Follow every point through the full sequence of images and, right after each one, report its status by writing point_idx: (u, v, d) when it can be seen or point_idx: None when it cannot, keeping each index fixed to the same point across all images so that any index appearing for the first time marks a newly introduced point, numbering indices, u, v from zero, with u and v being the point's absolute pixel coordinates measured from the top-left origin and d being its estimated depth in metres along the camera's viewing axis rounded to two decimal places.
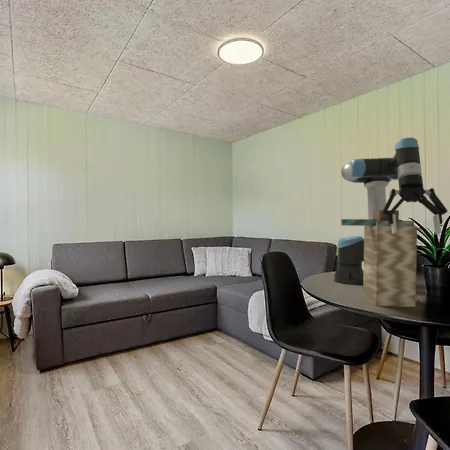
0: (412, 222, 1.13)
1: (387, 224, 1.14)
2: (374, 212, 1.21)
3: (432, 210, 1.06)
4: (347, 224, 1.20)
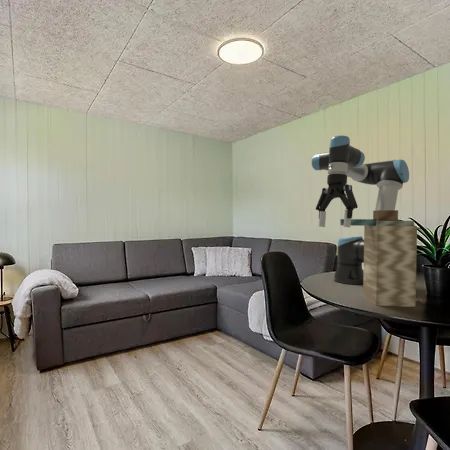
0: (412, 222, 1.13)
1: (387, 224, 1.14)
2: (374, 212, 1.21)
3: None
4: None
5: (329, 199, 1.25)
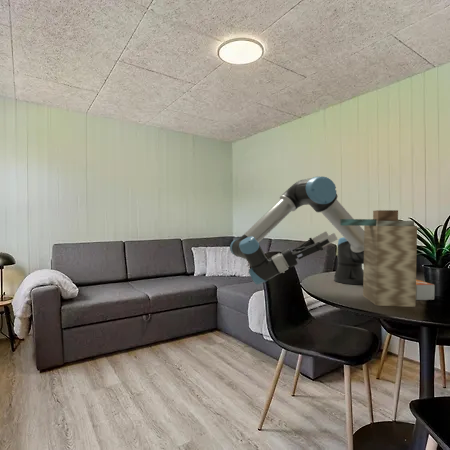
0: (412, 222, 1.13)
1: (387, 224, 1.14)
2: (374, 212, 1.21)
3: None
4: (346, 224, 1.21)
5: None
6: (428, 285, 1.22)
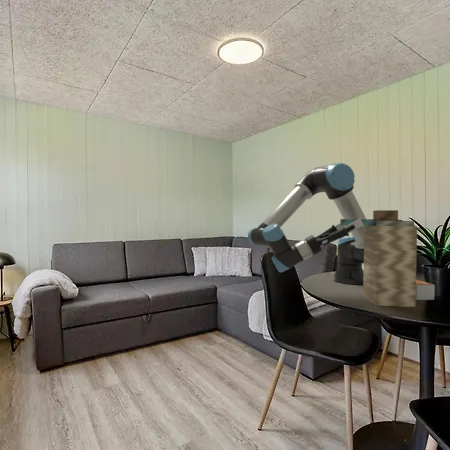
0: (412, 222, 1.13)
1: (387, 224, 1.14)
2: (374, 212, 1.21)
3: None
4: (346, 224, 1.21)
5: None
6: (428, 285, 1.22)
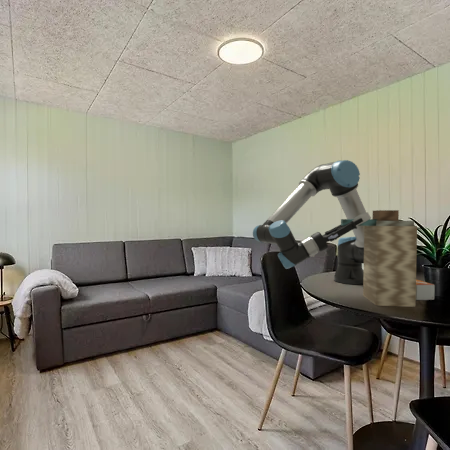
0: (412, 222, 1.13)
1: (387, 224, 1.14)
2: (374, 212, 1.21)
3: None
4: None
5: None
6: (428, 285, 1.22)
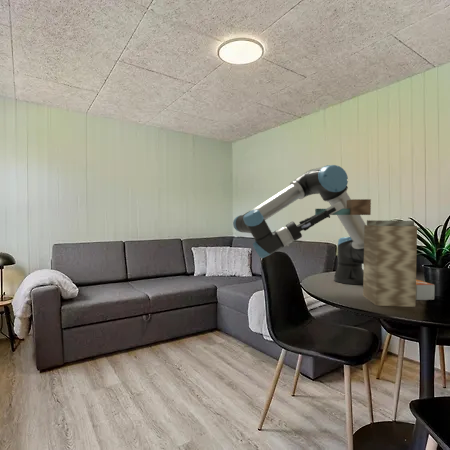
0: (412, 222, 1.13)
1: (387, 224, 1.14)
2: (348, 202, 1.22)
3: None
4: None
5: None
6: (428, 285, 1.22)
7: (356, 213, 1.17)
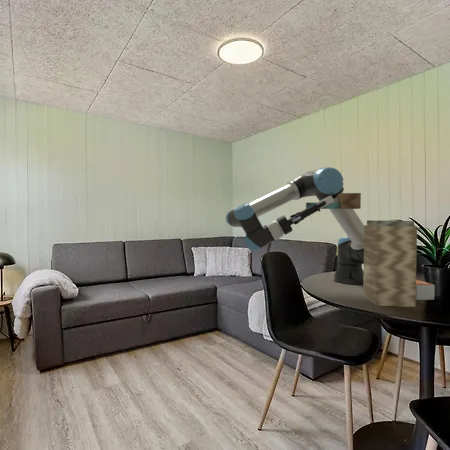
0: (412, 222, 1.13)
1: (387, 224, 1.14)
2: (338, 196, 1.22)
3: None
4: None
5: None
6: (428, 285, 1.22)
7: (346, 207, 1.17)
